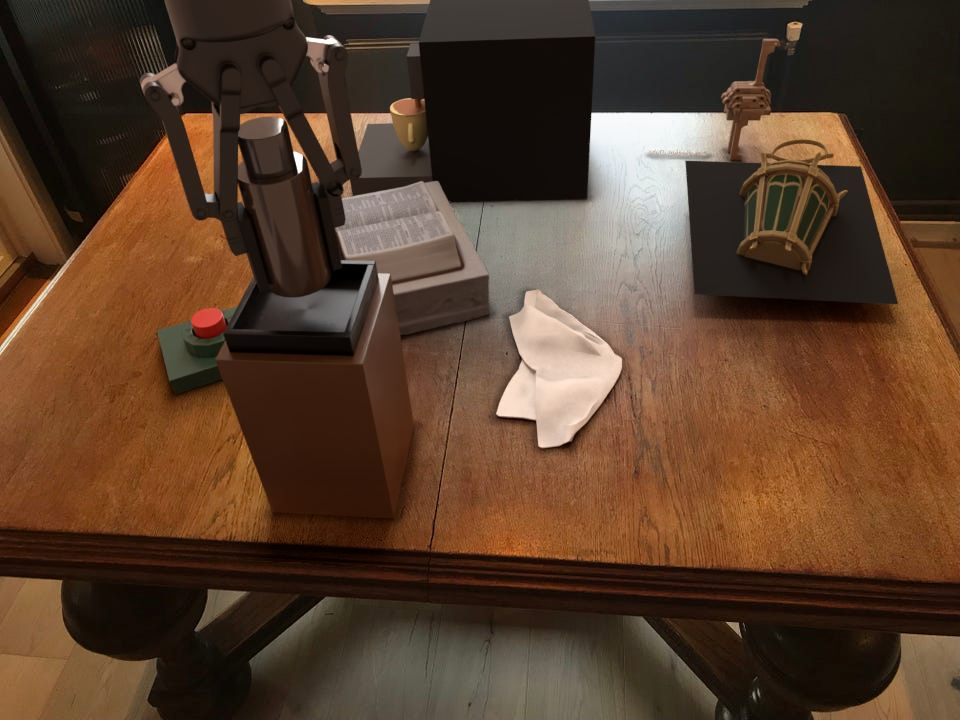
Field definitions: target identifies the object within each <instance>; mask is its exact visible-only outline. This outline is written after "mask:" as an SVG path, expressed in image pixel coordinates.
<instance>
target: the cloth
mask: <svg viewBox="0 0 960 720" xmlns="http://www.w3.org/2000/svg"><path fill="white" fill-rule="evenodd" d="M524 295H525V296H524V301H523V307H522V308H521V310H520V311H519V312H517V313H513V314H512V315H509V316H508V319H509V323H510V328H511V331H512V335H513V336H512V337H513V338H514V341H515V345H516V347H517V351H518V354H519V356H520V357H521V362H520V364H519V366H518V369H517V371H516V372H515V373H514V375H513V376H512V377H511V379H510V380H509V382H508V384H507V385H506V388H505V389H504V391H503V394H502V396H501V398H500V401H499V403H498V407H497V410H496V412H495V415H496V416H497V417H498V418H510V419H511V418H512V419H514V418H515V419H525V420H529V421H535V422H536V433H537V447H538V448H540V449H543V450H544V449H549V448H557V447H560V446H563V445H565V444H566V443H570V442H573V439H574V437H575V435H576V433H577V432H579V431H580V430H581V429H582V427H584V426H585V425H586V424H587V423H588V421H589V420H590V419H591V418H592V416H593V415H594V414H595V412H596V411H597V410H598V409H599V408H600V406H602V404H603V402H604V401H605V399H606V398H607V396H608V395H609V394H610V392H611V390H612V389H613V387H614V386H615V384H616V382H617V380H618V379H619V377H620V375H621V373H622V369H623V357H621V356H620V355H617V354H616V353H614V350H613V349H612V348H611V346H610V345H609V344H608V343H607V342H606V341H605V340H604V339H602V338H601V337H600V336H599V335H598V334H597V333H595V332H594V331H593V330H592V329H590V328H588V327H587V326H586V325H584V324H583V323H581V322H580V321H579V320H578V319H577V318H576V317H575V316H574V315H572V314H570V313H569V312H567V311H565V310H563V309H562V308H560V306H559V305H558V304H557V303H556V302H554V300H553V299H551V298H550V297H549V296H547V295H545V294H543V293H542V291H541V289H540V288H537V289H531V290H527V291H525V294H524Z"/></svg>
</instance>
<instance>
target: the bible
mask: <svg viewBox="0 0 960 720" xmlns="http://www.w3.org/2000/svg"><path fill="white" fill-rule="evenodd" d="M342 202H343V207H344V213H345V218H346V220H345V225H343V226H340V227H336V228H334V229H335V234H336V239H337V244H338V249H339V253H340V258H341V260H358V261H376V266H377V272H378V273H384V274H391V280H392V286H393V292H394V299H395V305H396V312H397V318H398V325H399V331H400V336H404V335H406V336H408V335H410V334H416V333H420V332H423V331H428V330H429V331H430V330H433V329H437V328H440V327H445V326H449V325H452V324H459V323H461V324H462V323H463V322H469V321H471V320H474V319H478V318H481V317H484V316H488V315H490V313H491V312H490V305H489V304H490V303H489V300H490V285H489V283H490V274H489V271H488V269H487V268H486V266H485V264H484V263H483V261H482V259H481V257H480V256H479V254H478V252H477V250H476V248H475V247H474V244H473V243H472V241H471V238H470V236H469V235H468V232H467V231H466V228H464V225H463V224H462V222H461V221H460V219H459V218H458V216H457V214H456V213H455V210H454V209H453V207H452V205H451V202H449V201H448V200H447V198H446V196H445V194H444V192H443V190H442V188H441V185H440V183H439V182H438V181H432V182H427V183H424V182H423V181H420V182H417V183H414V184H411V185H408V186H405V187H399V188H394V189H389V190H384V191H378V192H373V193H368V194H362V195H357V196H353V195H352V196H346V197H342Z"/></svg>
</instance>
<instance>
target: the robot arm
mask: <svg viewBox="0 0 960 720" xmlns="http://www.w3.org/2000/svg"><path fill="white" fill-rule="evenodd" d="M163 1H164V4H165V7H166V11H167V14H168V16H169V17H168V18H169V20H170V21H169V22H170V24H171V27H172V30H173V33H174V37H175V43H176V45H175V53H174V61H173V62H174V63H173V64H171V65H170V66H168V67H166V68H164V69H163V70H161V71H159V72H158V73H156V74H155V73H154V72H153V73H152V72H146V73H143V74H142V75H141V76H140V78H139V85H140V87H141V90H142V93H143V95H144V98H145V100H146V101H147V103H148V104H149V105H150V107H151V108H152V110H153V111H154V112H155V114H157V116H158V117H159V118H160V120H161V122H162V125H163V128H164V132H165V135H166V138H167V141H168V144H169V147H170V151H171V154H172V158H173V160H174V163H175V167H176V170H177V173H178V176H179V180H180V182H181V186H182V188H183V192H184V195H185V198H186V199H185V200H186V201H187V204H188V207H189V209H190V213H191V215H192V217H193V219H194V220H196V221H205V220H207V219H208V218H210V219H216V220H219V221H220V224H221V227H222V230H223V233H224V236H225V239H226V242H227V245H228V247H229V249H230V252H231V253H232V254H233V255H234V256H235V257H238V256H241V255H245V254H246V256H247V260H248V262H249V263H248V264H249V266H250V270H251V272H252V273H251V274H252V277H253V276H254V278H255V280H256V283H257V285H258V287H259V290H260V292H265V291H268V290H270V287H269V284H268V280H267V277H266V273H265V270H264V267H263V263H262V260H261V256H260V253H259V249H258V246H257V242H256V239H255V235H254V232H253V228H252V225H251V221H250V218H249V216H248V214H247V212H246V210H245V207H244V204H243V200H242V201H238V199H239V196H238V194H239V186H238V165H239V145H238V132H239V130H240V124H241V115H244V114H248V113H250V112H252V111H254V110H256V109H258V108H276V107H278V108H279V110H280V112H281V113H282V115H283V118H284V120H285V121H286V122H287V125H288V127H289V128H290V130H291V132H292V134H293V136H294V137H295V139H296V141H297V143H298V145H299V146H300V148H301V150H302V152H303V154H304V157H305V158H306V160H307V162H308V163H309V165H310V167H311V168H312V170H313V172H314V174H315V176H316V178H317V180H318V181H315V182H312V186H313V190H314V195H315V200H316V204H317V209H318V213H319V218H320V222H321V227H322V232H323V236H324V241H325V245H326V250H327V255H328V259H329V264H330V265H331V267H332V269H333V271H335V270H338V269H342V263H341V258H340V253H339V249H338V244H337V239H336V234H335V229H334V228H336V227H340V226H343V225H345V220H346V218H345V213H344V207H343V202H342V198H343V197H342V196H343V194H344V190H345V189H344V186H343V185H344V184H346V183H347V182H349V181H350V179H351V180H356V179H358V178H359V177H360V176H361V174H362V169H361V164H360V159H359V153H358V151H359V149H358V145H357V144H358V143H357V139H356V134H355V133H356V132H355V129H354V124H353V118H352V114H351V107H350V102H349V98H348V92H347V88H346V87H347V86H346V84H345V83H346V81H345V79H346V73H347V65H348V59H349V52H348V50H347V49H346V47H345V46H343V44H342V43H341V42H340V41H339V40H338V39H337V38H336V37H335V36H333V35H331V34H329V35H328V34H327V35H325V36H323V37H322V38H316V37H309V36H306V35H305V34H304V33H303V32H302V30H301V29H300V28H299V26H298V23H297V21H296V18H295V13H294V9H293V2H292V0H163ZM306 57H308V58H309V60H310V65H311V66H312V68H313V69H314V71H316V73H318V74H317V75H318V81H319V86H320V89H321V95H322V98H323V103H324V108H325V112H326V113H325V114H326V117H327V122H328V125H329V126H328V127H329V132H330V136H331V140H332V145H333V149H334V154H335V158H336V159H335V160H334V161H332V162H330V160H329V158H328V157H327V155H326V153H325V151H324V149H323V147H322V145H321V144H320V141H319V139H318V137H317V135H316V134H315V131H314V130H313V128H312V126H311V124H310V122H309V121H308V118H307V116H306V114H305V113H304V110H303V108H302V106H301V104H300V102H299V100H298V98H297V96H296V95H295V92H294V90H293V86H294V84H295V82H296V80H297V78H298V76H299V73H300V71H301V68H302V66H303V64H304V61H305V59H306ZM185 83H188V84H189V85H190V86H191V87H193V88H194V89H195V90H197V91H198V92H199V93H200V94H201V95H203V96H204V97H205V98H207V99H208V100H209V101H211V113H212V131H213V132H212V137H213V141H212V143H213V145H212V147H213V150H212V153H213V156H212V157H213V193H206V192H205V190H204V187H203V183H202V180H201V176H200V173H199V170H198V167H197V163H196V160H195V157H194V152H193V150H192V149H193V148H192V146H191V143H190V139H189V136H188V132H187V129H186V126H185V123H184V120H183V117H182V115H181V113H180V110H179V107H180V106H181V105H182V104H183V103H184V100H185V97H184V94H183V91H182V90H183V89H182V88H183V86H184V84H185Z"/></svg>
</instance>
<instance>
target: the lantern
mask: <svg viewBox="0 0 960 720" xmlns="http://www.w3.org/2000/svg"><path fill="white" fill-rule="evenodd" d="M793 145H794V146H795V145H812V146H815V147H818V148H821V149H822V150H823V152H824V154H822V153H821V151H818V152H816V153H815V156H814V157H812V158H807V159H806V158H805V159H801V160H800V159H799V158H796V159H789V158H785V157H780V156H777V155H775V154H776V152H777V151H779V150H781V149H783V148H785V147H789V146H793ZM834 157H835V154H834V153H832V152H831V153H829V152H828V150H827V148H826V146H825V145H824V144H823V143H821V142H820V141H817V140H814V139H813V140H812V139H802V138H801V139H800V138H799V139H792V140H788V141H785V142H782V143H780V144H778V145H777V146H776V147H775V148H774V149H773V150H772V152H771V153H767V152H764V151H761V154H760V161H761V162H744V161H743V162H741V161H715V160H714V161H711V160H710V161H709V160H684V162H685V163H684V164H685V175H686V191H687V205H688V207H687V208H688V218H689V219H688V220H689V233H690V234H689V235H690V245H691V246H690V248H691V250H690V251H691V265H692V277H693V291H694V295H703V296H721V297H722V296H723V297H742V298H743V297H745V298H759V299H760V298H762V299H764V298H765V299H781V300H782V299H784V300H799V301H800V300H801V301H821V302H822V301H823V302H839V303H840V302H843V303H861V304H883V305H899V302H898V301H899V300H898V298H897V294H896V291H895V286H894V282H893V280H892V275H891V272H890V268H889V265H888V261H887V258H886V254H885V250H884V246H883V243H882V239H881V235H880V230H879V228H878V224H877V219H876V216H875V213H874V209H873V205H872V202H871V198H870V194H869V191H868V188H867V183H866V180H865V176H864V173H863V168H862V166H861V165H833V164H832V165H831V164H829V165H828V164H819V162H820V161H824V160H826V159H833V158H834ZM768 159H772V160H775V161H773V162H768Z"/></svg>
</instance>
